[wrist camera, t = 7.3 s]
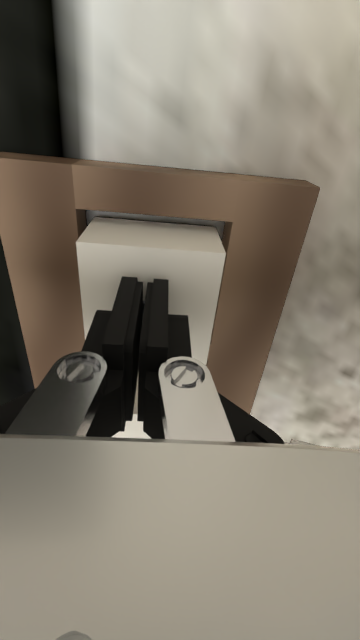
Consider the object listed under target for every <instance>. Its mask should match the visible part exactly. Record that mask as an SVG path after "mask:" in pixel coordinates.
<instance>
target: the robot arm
mask: <svg viewBox="0 0 360 640" xmlns="http://www.w3.org/2000/svg"><path fill="white" fill-rule="evenodd" d="M168 292H169V280H167V279H154V281H153V282H148V283H147V290H146V298H145V305H144V313H143V321H142V306H143V282H138V279H137V277H123V276H122V278H121V281H120V284H119V288H118V291H117V295H116V298H115V301H114V305H113V308H112V311H108V310H97V311H96V313H95V315H94V318H93V321H92V323H91V326H90V329H89V331H88V334H87V337H86V340H85V342H84V345H83V348H82V350H81V351H80V352H73V353H70V354H67V355H65V356H63V357H61V358H60V359H58V360H57V361H56V362H55V363H54V364H53V366H52V367H51V369H50V370H49V371H48V373H47V374H46V376H45V377H44V379H43V380H42V381H41V383H40V384H39V386H38V387H37V388H36V389H34V390H32V391H30V392H28V393H26V394H24V395H22V396H20V397H18V398H16V399H14V400H12V401H10V402H8V403H5V404H3V405H1V406H0V640H360V450H355V449H348V448H336V447H324V446H319V445H314V444H310V443H306V442H302V441H297V440H293V439H291V441H290V443H287V442H283V440H282V439H281V437H279V436H278V435H277V434H276V433H275V432H274V431H272V430H271V429H270V428H268V427H267V426H265V425H264V424H262V423H261V422H260V421H258V420H257V419H255V418H254V417H252V416H251V415H250V414H248V413H247V412H245V411H244V410H243V409H241V408H240V407H238V406H237V405H235V404H234V403H233V402H231V401H230V400H228V399H227V398H225V397H224V396H223V395H221V394H220V393H218V392H217V390H216V387H215V384H214V382H213V379H212V376H211V373H210V371H209V369H208V368H207V366H206V365H204V364H203V363H202V362H200V361H199V360H197V359H194V358H192V353H191V342H190V331H189V320H188V315H174V314H168ZM137 378H138V414H137V421H141V422H143V431H144V432H145V433H146V434H147V435H148V436H149V437H150V438H152V439H145V438H116V437H112V436H113V435H115V434H116V433H118V432H119V431H121V432H124V431H125V424H126V421H132V419H133V411H134V403H135V394H136V386H137Z"/></svg>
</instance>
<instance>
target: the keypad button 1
mask: <svg viewBox="0 0 360 640" xmlns="http://www.w3.org/2000/svg"><path fill="white" fill-rule="evenodd" d="M76 248H77V259H78V270H79V280H80V291H81V302H82V312H83V323H84V334H85V340H86V337H87V334H88V331H89V329H90V326H91V323H92V321H93V318H94V315H95V313H96V311H97V310H108V311H112V308H113V305H114V301H115V298H116V295H117V291H118V288H119V284H120V281H121V278H122V276H123V277H137V279H138V282H143V306H142V321H143V313H144V305H145V298H146V290H147V283H148V282H153V281H154V279H167V280H169V292H168V314H174V315H188V320H189V331H190V342H191V353H192V358H194V359H197V360H199V361H200V362H202V363H203V364H204V365H206V363H207V358H208V352H209V346H210V341H211V335H212V329H213V324H214V318H215V312H216V307H217V301H218V295H219V290H220V284H221V279H222V273H223V267H224V262H225V256H226V252H225V250H224V247H223V245H222V242H221V239H220V237H219V234H218V232H217V229H216V227H210V226H198V225H186V224H174V223H162V222H150V221H138V220H126V219H114V218H102V217H94V218H93V220H92V221H91V222H90V224H89V225H88V226H87V228H86V229H85V230H84V232H83V233H82V234H81V236H80V237H79V238H78V240H77V241H76Z"/></svg>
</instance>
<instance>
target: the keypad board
mask: <svg viewBox="0 0 360 640" xmlns="http://www.w3.org/2000/svg"><path fill="white" fill-rule="evenodd" d="M319 191H320V187H318V186H316V185H314V184H312V183H310V182H308V181H305V180H294V179H283V178H273V177H262V176H252V175H241V174H231V173H220V172H210V171H199V170H189V169H178V168H168V167H157V166H147V165H136V164H125V163H115V162H104V161H94V160H83V159H73V158H62V157H52V156H41V155H31V154H20V153H10V152H0V236H1V240H2V245H3V249H4V253H5V258H6V262H7V267H8V271H9V276H10V280H11V284H12V289H13V293H14V298H15V302H16V307H17V311H18V315H19V320H20V324H21V329H22V333H23V338H24V342H25V346H26V351H27V355H28V360H29V364H30V369H31V373H32V377H33V382H34V386H35V389H36V388H37V387H38V386H39V384H40V383H41V381H42V380H43V379H44V377H45V376H46V374H47V373H48V371H49V370H50V369H51V367H52V366H53V364H54V363H55V362H56V361H57V360H58V359H60V358H61V357H63V356H65V355H67V354H70V353H73V352H80V351H81V350H82V348H83V345H84V342H85V334H84V323H83V312H82V302H81V291H80V280H79V270H78V259H77V248H76V241H77V240H78V238H79V237H80V236H81V234H82V233H83V232H84V230H85V229H86V228H87V223H86V210H98V211H110V212H121V213H133V214H145V215H157V216H169V217H181V218H192V219H204V220H216V221H226V222H225V228H224V234H223V240H222V245H223V247H224V250H225V252H226V256H225V262H224V267H223V273H222V279H221V284H220V290H219V295H218V301H217V307H216V312H215V318H214V324H213V329H212V335H211V341H210V346H209V352H208V358H207V363H206V366H207V368H208V369H209V371H210V373H211V376H212V379H213V382H214V384H215V387H216V390H217V392H218V393H220V394H221V395H223V396H224V397H225V398H227V399H228V400H230V401H231V402H233V403H234V404H235V405H237V406H238V407H240V408H241V409H243V410H244V411H245V412H247V413H248V414H250V412H251V409H252V406H253V402H254V399H255V396H256V393H257V390H258V386H259V383H260V380H261V377H262V374H263V370H264V367H265V364H266V361H267V358H268V354H269V351H270V348H271V345H272V341H273V338H274V335H275V332H276V329H277V325H278V322H279V319H280V316H281V313H282V309H283V306H284V303H285V300H286V297H287V293H288V290H289V287H290V284H291V281H292V277H293V274H294V271H295V268H296V265H297V261H298V258H299V255H300V252H301V248H302V245H303V242H304V239H305V236H306V232H307V229H308V226H309V223H310V220H311V216H312V213H313V210H314V207H315V204H316V200H317V197H318V194H319Z"/></svg>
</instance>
